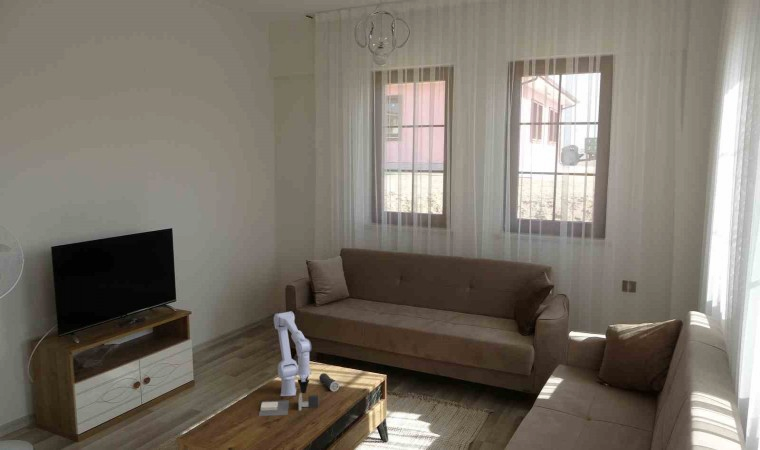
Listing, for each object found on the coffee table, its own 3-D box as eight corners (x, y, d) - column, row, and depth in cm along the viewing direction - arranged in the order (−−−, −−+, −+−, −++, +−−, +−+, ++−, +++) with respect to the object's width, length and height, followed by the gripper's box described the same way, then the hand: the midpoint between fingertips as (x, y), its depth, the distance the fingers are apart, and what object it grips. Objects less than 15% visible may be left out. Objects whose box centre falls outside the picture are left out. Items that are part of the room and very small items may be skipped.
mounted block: (299, 404, 291) (299, 393, 291) (318, 403, 292) (318, 392, 291) (298, 411, 283) (298, 400, 283) (318, 411, 284) (318, 399, 283)
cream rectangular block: (278, 405, 289) (262, 405, 288) (277, 401, 289) (262, 402, 288) (277, 410, 283) (260, 411, 282) (277, 407, 283) (260, 407, 282)
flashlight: (318, 382, 319) (318, 373, 319) (326, 380, 322) (326, 371, 322) (330, 392, 306) (330, 382, 306) (339, 390, 309) (339, 380, 309)
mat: (262, 402, 293) (262, 401, 293) (289, 401, 295) (289, 400, 294) (258, 416, 277) (258, 415, 277) (287, 415, 279) (287, 414, 279)
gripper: (311, 369, 278) (311, 395, 280) (311, 358, 293) (312, 383, 295) (296, 369, 278) (297, 396, 280) (298, 358, 292) (298, 383, 294)
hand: (303, 389), depth 287 cm, fingers open, 7 cm apart
